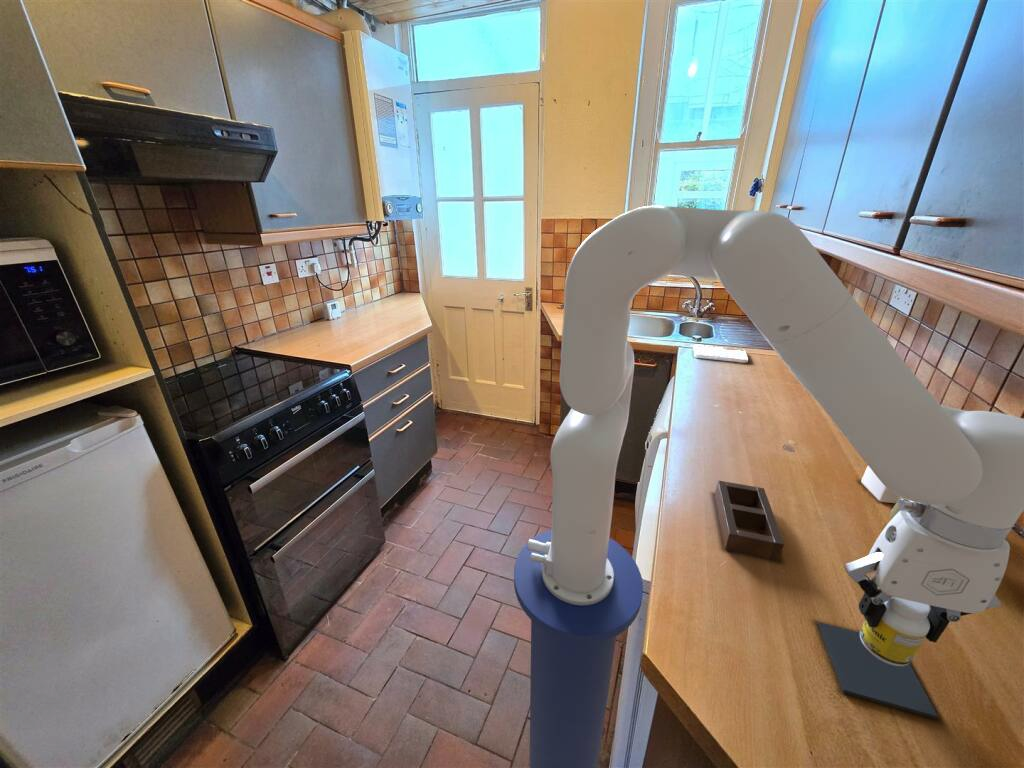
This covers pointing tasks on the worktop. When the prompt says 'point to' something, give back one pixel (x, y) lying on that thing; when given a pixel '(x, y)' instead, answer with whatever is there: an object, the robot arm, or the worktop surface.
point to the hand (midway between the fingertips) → (896, 623)
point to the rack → (748, 521)
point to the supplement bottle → (897, 631)
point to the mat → (873, 673)
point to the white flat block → (720, 354)
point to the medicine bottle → (878, 487)
